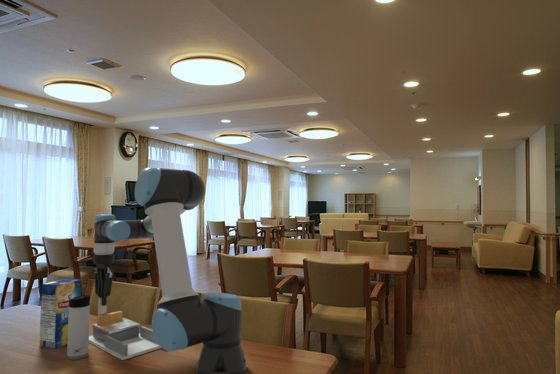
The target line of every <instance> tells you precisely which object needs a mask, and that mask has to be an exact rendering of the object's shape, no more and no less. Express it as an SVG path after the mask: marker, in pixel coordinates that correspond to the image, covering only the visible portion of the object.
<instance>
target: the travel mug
mask: <svg viewBox="0 0 560 374" xmlns="http://www.w3.org/2000/svg"><path fill="white" fill-rule="evenodd" d="M90 301H91V295H89V294H87V295H81V296H77V297H74V298H72V299H69V316H68V344H66V345H67V349H66V359H67V360H69V361H70V360H71V361H76V360H82V359H84V358H87V356H88V355H89V344H90V343H89V336H90V314H91V313H90V312H91V311H90V310H91V309H90V308H91V306H90V305H91V303H90Z"/></svg>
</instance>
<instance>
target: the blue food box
mask: <svg viewBox="0 0 560 374" xmlns="http://www.w3.org/2000/svg"><path fill="white" fill-rule="evenodd" d="M81 290H82V279H79V278H78V279H77V278H63V279H59V280H54V281H50V282H46V283H42V284H41V295H40V296H41V298H40V299H41V301H40V306H41V307H40V320H39V321H40V322H39V323H40V325H39V347H40V348H45V349H53V350H56V349H58V348H60V347H63V346H66V345H67V344H68V316H69V299H72V298H74V297H77V296H82V295H81V294H82V291H81Z"/></svg>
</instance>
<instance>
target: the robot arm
mask: <svg viewBox="0 0 560 374" xmlns="http://www.w3.org/2000/svg"><path fill="white" fill-rule="evenodd" d="M134 186H135V187H134V200H135V202H136V203H137V204H138V205H139V206H143V208H144V213H145V215H147V216H146V217H144V219H132V220H131V219H123V220H122V219H121V220H118V219H116V216H115V214H104V213H103V214H96V215H95V217H94V223H93V224H94V231H93V234H94V237H93V241H94V242H93V257H92V258H93V260H92V261H93V264H94V265H96V268H95V269H93V272H92V273H93V276H94V277H93V278H94V290H95V292H94V293H95V295H97V298H98V299H97V314H98V315H103V314H107V309H108V307H107V305H108V304H107V303H108V298H107V297H110V296H111V294H112V292H111V291H112V287H113V279H114V276H115V272H114V271H113V272H112V266H111V264H113V263H114V262H115V253H114V252H115V247H116V244H115V243H116V242H123V241H127V240H143V239H149V240H150V239H154V240H153V241H154V245H155V246H154V248H155V253H156V254H155V255H156V261H157V267H158V268H157V269H158V274H159V281H160V282H159V283H160V288H161V296H162V297H161V298H160V300H159V301H158V302H157V306H158V307H157V309H156V310H155V311H154V313H153V314H152V320H151V327H152V328H151V329H152V330H153V333H154V336H155V338H156V340H157V342H158V344H159V345H160V346H161V347H162V348H161V349H163V350H164V351H167V352H174V351H178V350H185V349H186V348H190V347H192V346H197V345H199V344H200V345H201V344H202V347H201V351H200V354H199V358H198V360H197V362H196V366H195V367H196V370H195V371H196V374H245V373H246V372H245V371H247V360H246V358H245V353H244V350H243V347H242V311H243V309H242V299H241V298H240V297H239V296H238V295H236V294H233V293H226V292H206V293H204V295H203V296H202V300H201V299H200V294H199V293H198V292H196V291H195V289H193V284H192V279H191V272H190V267H189V265H190V264H189V260H188V255H187V248H186V243H185V242H186V241H185V235H184V231H183V224H182V218H181V215H183V214H184V213H185V212H186V211H191V210H193V209H195V208H196V207H198V206H199V205H200V204H201V203H202V201H203V200H204V198H205V195H206V186H205V182H204V180H203V179H202V177H201V176H200V175H198V174H197V173H196V172H194V171H192V170H189V169H188V170H187V169H175V168H165V167H164V168H162V167H159V166H158V167H146V168H144V169H142V171H141V172H140V173H139V174H138V176H137V180H136V181H135V185H134Z"/></svg>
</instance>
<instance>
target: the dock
mask: <svg viewBox="0 0 560 374" xmlns="http://www.w3.org/2000/svg"><path fill="white" fill-rule="evenodd" d="M92 327H93V326H92ZM92 332H93V333H92V335H89V344H90V345H93V346H95V347H97V348H99V349H101V350H103V351H104V352H106V353H108V354H109V355H112V356H113V357H116V358H117V359H119V360H121V361H124V360H127V359H130V358H134V357H137V356H141V355H145V354H146V353H149V352H152V351H157V350H159V349H163V348H162V347H161V346H160V345H159V344H158V342H157V340H156V338H155V336H154V333H153V328H148V327H146V326H144V325H140V326H139V327H135V328H131V329H127V330H123V331H119V332H115V333H111V334H107V333H105V332H103V331H101V330H99V329H96V328H94V327H93V329H92Z"/></svg>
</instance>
